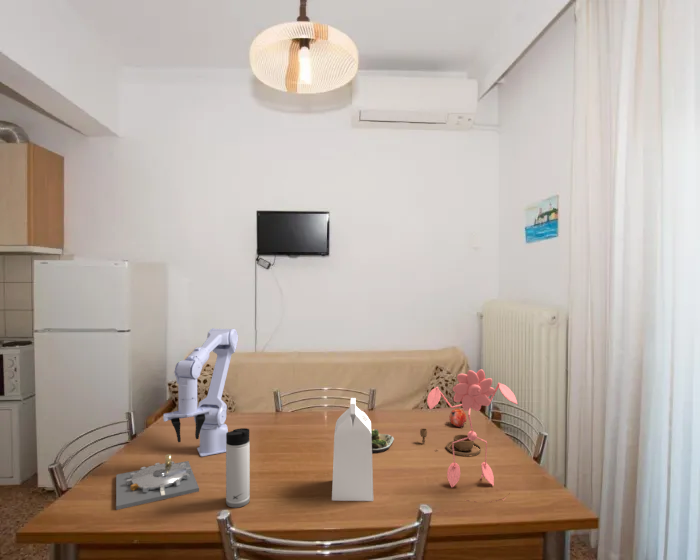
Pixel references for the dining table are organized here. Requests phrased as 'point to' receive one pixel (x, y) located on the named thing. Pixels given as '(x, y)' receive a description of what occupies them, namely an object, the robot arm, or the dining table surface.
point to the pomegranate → (457, 417)
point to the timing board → (138, 497)
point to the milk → (352, 456)
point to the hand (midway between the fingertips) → (188, 439)
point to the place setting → (460, 445)
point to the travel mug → (237, 468)
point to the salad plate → (380, 441)
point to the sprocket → (159, 476)
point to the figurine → (472, 394)
